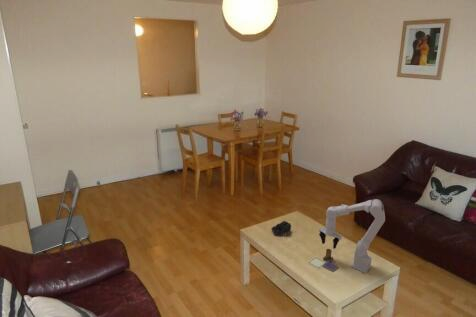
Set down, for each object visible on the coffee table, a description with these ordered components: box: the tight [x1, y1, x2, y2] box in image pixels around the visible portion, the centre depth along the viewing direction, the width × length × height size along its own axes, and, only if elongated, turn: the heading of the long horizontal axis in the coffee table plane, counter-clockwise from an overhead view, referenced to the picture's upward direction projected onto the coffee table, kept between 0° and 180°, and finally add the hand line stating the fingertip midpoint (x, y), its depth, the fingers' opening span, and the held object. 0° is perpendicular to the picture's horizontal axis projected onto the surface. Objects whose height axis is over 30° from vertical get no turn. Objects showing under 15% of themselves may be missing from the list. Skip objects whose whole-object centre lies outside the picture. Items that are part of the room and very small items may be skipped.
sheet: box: [306, 256, 327, 270], centre depth 210 cm, size 9×9×1 cm
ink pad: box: [322, 261, 339, 273], centre depth 205 cm, size 7×6×1 cm
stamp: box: [322, 248, 334, 263], centre depth 212 cm, size 4×4×7 cm
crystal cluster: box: [271, 220, 292, 237], centre depth 243 cm, size 13×14×10 cm
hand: (329, 245), depth 210 cm, fingers open, 7 cm apart
